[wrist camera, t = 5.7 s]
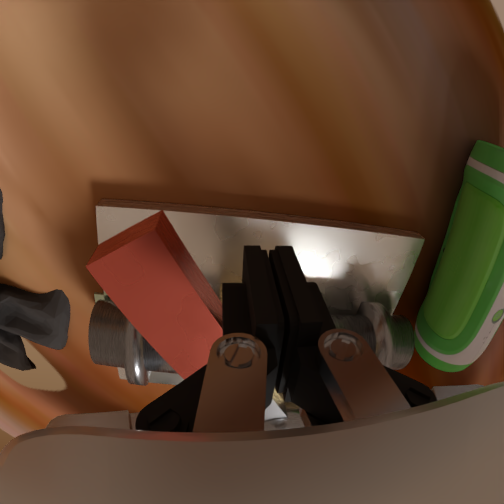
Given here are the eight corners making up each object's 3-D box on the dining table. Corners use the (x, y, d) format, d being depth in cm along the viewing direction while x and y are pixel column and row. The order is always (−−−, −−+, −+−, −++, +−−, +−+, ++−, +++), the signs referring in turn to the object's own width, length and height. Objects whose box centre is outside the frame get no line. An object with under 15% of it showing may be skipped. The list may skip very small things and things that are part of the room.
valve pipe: (416, 231, 22) (472, 287, 15) (351, 374, 29) (373, 433, 23) (91, 198, 18) (41, 256, 12) (115, 367, 26) (100, 434, 19)
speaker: (450, 317, 28) (487, 368, 21) (394, 324, 27) (430, 386, 20) (507, 148, 19) (572, 181, 12) (451, 130, 18) (527, 161, 12)
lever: (307, 397, 18) (318, 438, 15) (254, 415, 18) (259, 455, 16) (181, 186, 11) (170, 221, 8) (102, 229, 11) (74, 272, 9)
